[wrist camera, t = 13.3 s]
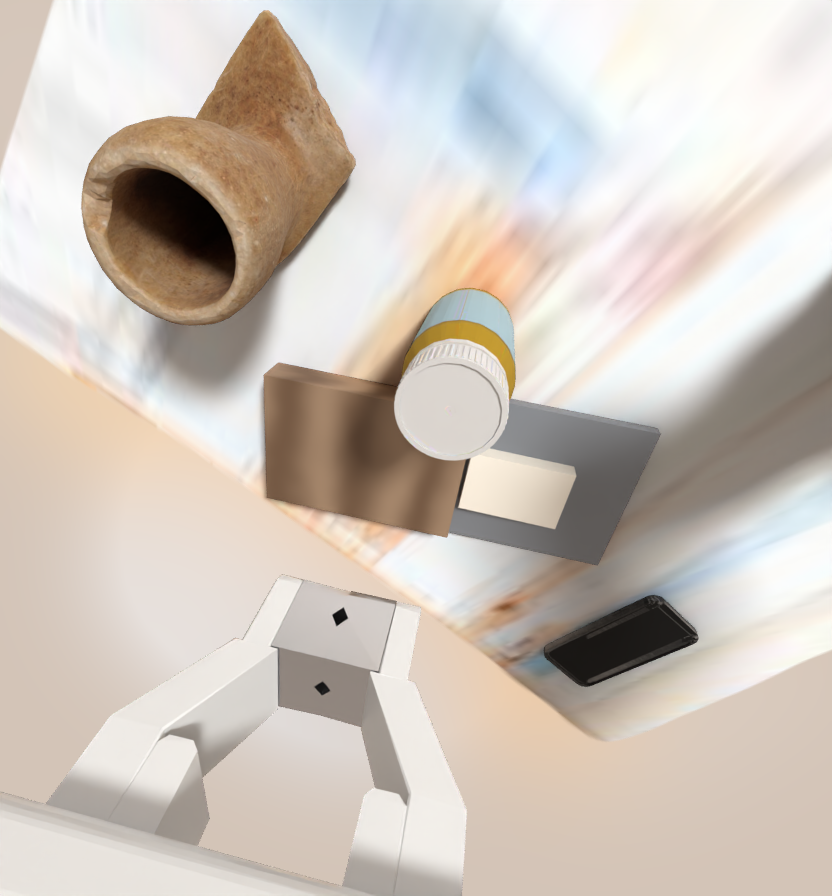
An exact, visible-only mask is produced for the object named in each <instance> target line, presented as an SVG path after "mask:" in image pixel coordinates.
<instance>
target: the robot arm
mask: <svg viewBox="0 0 832 896" xmlns="http://www.w3.org/2000/svg"><path fill="white" fill-rule="evenodd" d="M420 614H421V607H418V606H414V605H409V604H405V603H400V602H397V601H394V600H389V599H385V598H380V597H376V596H371V595H367V594H362V593H357V592H353V591H351V592H349V591H346V590H341V589H338V588H334V587H330V586H327V585H323V584H319V583H315V582H311V581H308V580H303V579H299V578H295V577H291V576H287V575H283V574H282V575H281V576H280V577H279V578H278V579H277V580H276V581H275V583H274V585H273V587H272V588H271V590H270V592H269V594H268V595H267V597H266V599H265V600H264V602H263V604H262V606H261V608H260V609H259V611H258V613H257V615H256V616H255V618H254V620H253V622H252V623H251V625H250V627H249V629H248V630H247V632H246V634H245V636H244V637H243V639H237V638H235V639H233V640H231V641H230V642H228V643H226V644H225V645H223V646H222V647H220V648H218V649H217V650H215V651H214V652H212V653H210V654H209V655H207V656H206V657H204V658H202V659H201V660H199V661H198V662H196V663H194V664H193V665H191V666H190V667H188V668H186V669H185V670H183V671H181V672H180V673H178V674H177V675H175V676H173V677H172V678H170V679H169V680H167V681H165V682H164V683H162V684H161V685H159V686H157V687H156V688H154V689H153V690H151V691H150V692H148V693H146V694H145V695H143V696H142V697H140V698H138V699H136V700H135V701H133V702H132V703H130V704H128V705H127V706H125V707H124V708H122V709H121V710H119V711H117V712H116V713H114V714H112V715H111V716H110V717H109V718H108V720H107V721H106V723H105V724H104V725H103V727H102V728H101V729H100V731H99V732H98V733H97V735H96V736H95V737H94V739H93V740H92V741H91V743H90V744H89V746H88V747H87V748H86V750H85V751H84V753H83V754H82V755H81V757H80V758H79V759H78V760H77V762H76V763H75V765H74V766H73V767H72V769H71V770H70V772H69V773H68V774H67V775H66V777H65V778H64V780H63V781H62V782H61V784H60V785H59V786H58V788H57V789H56V790H55V792H54V793H53V795H52V796H51V797H50V799H49V800H48V801H47V803H46V804H43V803H40V802H36V801H32V800H29V799H25V798H22V797H18V796H14V795H11V794H7V793H4V792H0V896H462V884H463V868H464V867H463V866H464V851H465V833H466V818H467V809H466V807H465V804H464V802H463V799H462V797H461V794H460V792H459V790H458V787H457V784H456V782H455V780H454V777H453V775H452V772H451V770H450V767H449V765H448V762H447V760H446V757H445V755H444V752H443V750H442V747H441V745H440V743H439V740H438V738H437V735H436V732H435V730H434V728H433V725H432V723H431V720H430V718H429V715H428V713H427V710H426V708H425V705H424V703H423V700H422V698H421V695H420V693H419V690H418V688H417V686H416V683H415V682H412V681H409V680H408V676H409V671H410V666H411V661H412V656H413V650H414V646H415V640H416V635H417V630H418V624H419V619H420ZM278 706H280V707H285V708H290V709H294V710H299V711H303V712H307V713H312V714H316V715H321V716H324V717H328V718H331V719H335V720H338V721H342V722H345V723H349V724H353V725H356V726H359V727H361V731H362V735H363V739H364V743H365V747H366V752H367V756H368V760H369V764H370V768H371V772H372V777H373V781H374V785H375V788H373V789H371V790H370V791H369V792H368V793H366V794H365V795H364V798H363V802H362V807H361V811H360V815H359V819H358V823H357V827H356V831H355V835H354V839H353V844H352V848H351V852H350V856H349V860H348V864H347V868H346V873H345V877H344V881H343V885H342V886H340V885H336V884H332V883H329V882H325V881H322V880H318V879H314V878H311V877H307V876H303V875H300V874H296V873H293V872H289V871H286V870H282V869H278V868H275V867H271V866H268V865H264V864H260V863H257V862H253V861H249V860H245V859H242V858H239V857H235V856H231V855H228V854H224V853H221V852H217V851H213V850H210V849H206V848H202V847H199V846H198V844H199V841H200V839H201V837H202V835H203V832H204V830H205V828H206V825H207V823H208V821H209V819H210V818H209V813H208V807H207V801H206V796H205V790H204V785H203V779H202V778H203V777H204V775H206V774H207V773H208V772H209V771H210V770H211V769H212V768H214V767H215V766H216V765H217V764H218V763H219V762H220V761H221V760H222V759H224V758H225V757H226V756H227V755H228V754H229V753H230V752H231V751H232V750H233V749H235V748H236V747H237V746H238V745H239V744H240V743H241V742H242V741H243V740H245V739H246V738H247V737H248V736H249V735H250V734H251V733H252V732H253V731H254V730H256V729H257V728H258V727H259V726H260V725H261V724H262V723H263V722H264V721H266V720H267V719H268V718H269V717H270V716H271V715H272V714H273V713H274V712H275V711H276V710H278Z"/></svg>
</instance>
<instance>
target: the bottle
mask: <svg viewBox="0 0 832 896" xmlns="http://www.w3.org/2000/svg"><path fill="white" fill-rule="evenodd" d="M515 379H516V378H515V352H514V330H513V323H512V320H511V317H510V314H509V312H508V310H507V308H506V307H505V306H504V304H503V303H502V302H501V301H500V300H499V299H498V298H497V297H495V296H494V295H492V294H490V293H489V292H487V291H484V290H480V289H475V288H465V289H458V290H455V291H453V292H450V293H448V294H446V295H444V296H443V297H442V298H441V299H440V300H439V301H437V302H436V303H435V305H434V306H433V307H432V308H431V310H430V312H429V314H428V315H427V317H426V319H425V321H424V323H423V324H422V326H421V328H420V330H419V332H418V334H417V335H416V337H415V339H414V341H413V343H412V344H411V346H410V348H409V350H408V352H407V354H406V357H405V359H404V364H403V369H402V379H401V381H400V383H399V385H398V388H397V390H396V395H395V397H394V398H395V401H394V412H395V418H396V421H397V424H398V427H399V429H400V431H401V432H402V434H403V435H404V437H405V438H406V439H407V440H408V442H409V443H410V444H412V445H413V446H414V447H415V448H416V449H418V450H419V451H421V452H423V453H424V454H426V455H429V456H431V457H434V458H438V459H442V460H464V459H469V458H472V457H475V456H477V455H480V454H481V453H483V452H485V451H486V450H488V449H489V448H490V447H491V446H493V445H494V444H495V442H496V441H497V440H498V439H499V437H500V436H501V435H502V432H503V430H504V429H505V425H506V424H507V419H508V413H509V401H510V399H511V396H512V393H513V390H514V387H515Z"/></svg>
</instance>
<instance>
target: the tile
mask: <svg viewBox="0 0 832 896" xmlns="http://www.w3.org/2000/svg"><path fill="white" fill-rule="evenodd" d="M575 478H576V472H575V468H574V466H569V465H564V464H560V463H555V462H550V461H546V460H541V459H537V458H532V457H527V456H523V455H518V454H513V453H509V452H504V451H499V450H495V449H490V448H489V449H488V450H486V451H485V452H483V453H481V454H480V455H477V456H475V457H472V458H470V459H469V463H468V467H467V471H466V475H465V479H464V483H463V487H462V491H461V495H460V499H459V506H458V508H462V509H467V510H471V511H476V512H480V513H485V514H489V515H494V516H498V517H503V518H507V519H511V520H516V521H520V522H525V523H529V524H534V525H538V526H543V527H547V528H552V529H555V528H556V526H557V523H558V521H559V518H560V516H561V513H562V511H563V508H564V506H565V503H566V501H567V498H568V496H569V493H570V491H571V488H572V486H573V483H574V481H575Z"/></svg>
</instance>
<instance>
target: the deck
mask: <svg viewBox="0 0 832 896" xmlns="http://www.w3.org/2000/svg"><path fill="white" fill-rule="evenodd" d="M397 388H398V387H396V386H391V385H386V384H382V383H377V382H372V381H367V380H362V379H357V378H352V377H347V376H342V375H337V374H332V373H327V372H322V371H318V370H313V369H308V368H303V367H298V366H293V365H288V364H283V363H277V364H276V365H275V366H274V367H273V368H271V369H270V370H269V371H268V372H267V373H265V374H264V404H265V443H266V481H267V498H272V499H276V500H281V501H285V502H290V503H294V504H299V505H303V506H307V507H312V508H316V509H321V510H325V511H330V512H334V513H339V514H343V515H348V516H352V517H357V518H361V519H366V520H370V521H375V522H379V523H384V524H388V525H393V526H397V527H402V528H406V529H411V530H415V531H419V532H424V533H428V534H433V535H437V536H442V537H446V538H447V537H448V532H449V528H450V524H451V520H452V516H453V511H454V507H455V503H456V499H457V495H458V490H459V486H460V482H461V478H462V474H463V469H464V465H465V461H466V459H464V460H442V459H438V458H434V457H431V456H429V455H426V454H424V453H423V452H421V451H419V450H418V449H416V448H415V447H414V446H413V445H412V444H410V443H409V442H408V440H407V439H406V438H405V437H404V435H403V434H402V432H401V431H400V429H399V427H398V424H397V421H396V418H395V412H394V401H395V398H394V397H395V395H396V390H397Z"/></svg>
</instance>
